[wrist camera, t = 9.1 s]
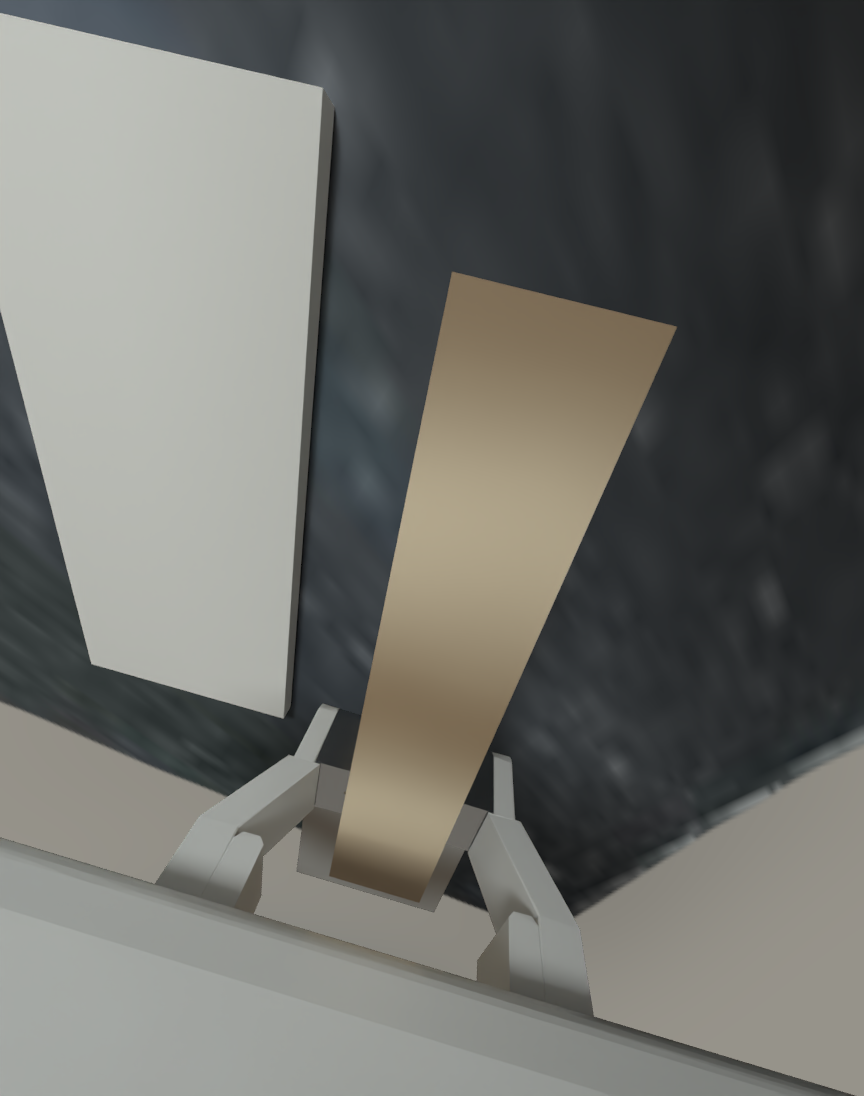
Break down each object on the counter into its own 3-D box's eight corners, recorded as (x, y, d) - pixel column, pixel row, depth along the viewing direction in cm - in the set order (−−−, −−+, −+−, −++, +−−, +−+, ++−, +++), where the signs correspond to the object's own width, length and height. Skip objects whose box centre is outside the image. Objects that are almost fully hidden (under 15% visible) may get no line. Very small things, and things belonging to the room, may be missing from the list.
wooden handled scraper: (383, 296, 8) (288, 230, 4) (678, 369, 7) (852, 368, 4) (306, 845, 17) (257, 972, 13) (436, 883, 17) (422, 1023, 13)
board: (-42, 19, 11) (-81, -6, 10) (334, 107, 10) (323, 88, 10) (104, 654, 21) (91, 663, 21) (290, 706, 21) (283, 718, 20)
